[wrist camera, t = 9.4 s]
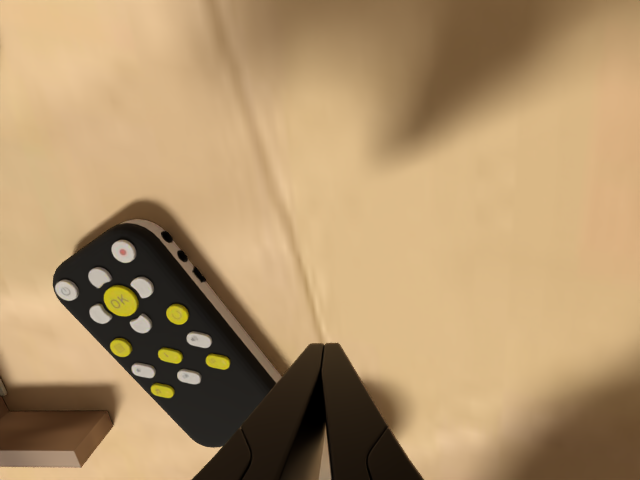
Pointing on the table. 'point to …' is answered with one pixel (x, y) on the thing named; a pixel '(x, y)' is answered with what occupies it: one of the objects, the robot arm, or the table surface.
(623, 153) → the table surface
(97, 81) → the table surface
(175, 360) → the remote control
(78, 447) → the frame
